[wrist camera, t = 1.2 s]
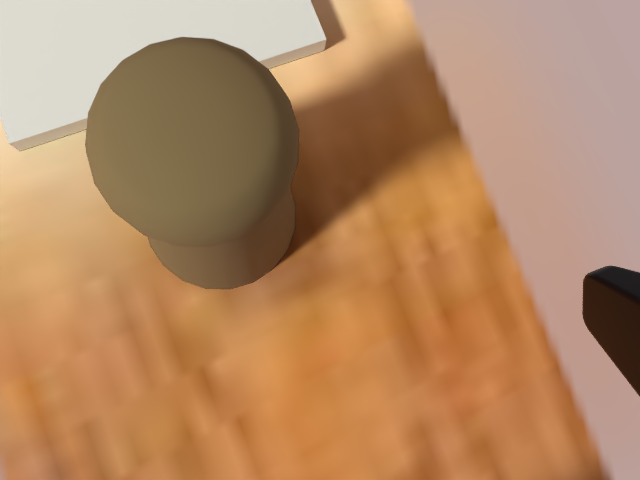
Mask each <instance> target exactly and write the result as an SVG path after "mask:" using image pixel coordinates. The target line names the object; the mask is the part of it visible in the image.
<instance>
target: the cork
mask: <svg viewBox="0 0 640 480" xmlns="http://www.w3.org/2000/svg"><path fill="white" fill-rule="evenodd" d="M85 146H86V153H87V157H88V161H89V164H90V168H91V172H92V176H93V180H94V184H95V185H96V187H97V188H98V190H99V191H100V193H101V194H102V196H103V197H104V199H105V200H106V202H107V203H108V205H109V206H110V208H111V209H112V211H113V212H115V213H116V214H117V215H118V216H120V217H121V218H122V219H124V220H125V221H126V222H128V223H129V224H130V225H131V226H133V227H134V228H135V229H137V230H138V231H139V232H141V233H142V234H143V235H145V236H147V237H148V240H149V243H150V246H151V248H152V249H153V251H154V252H155V254H156V255H157V257H158V258H159V260H160V261H161V262H162V264H163V265H164V266H165V267H166V268H167V269H168V270H170V271H171V272H172V273H174V274H175V275H176V276H177V277H179V278H180V279H181V280H183V281H185V282H188V283H191V284H194V285H197V286H200V287H202V288H205V289H233V288H236V287H239V286H243V285H246V284H250V283H253V282H255V281H256V280H258V279H259V278H260V277H262V276H263V275H265V274H266V273H268V272H269V271H271V270H272V269H273V268H274V267H275V266H276V264H277V263H278V262H279V261H280V259H281V258H282V257H283V255H284V254H285V253H286V252H287V250H288V247H289V245H290V242H291V239H292V236H293V233H294V231H295V217H296V205H295V202H294V198H293V195H292V192H291V188H290V185H291V182H292V179H293V176H294V174H295V171H296V168H297V164H298V152H299V128H298V125H297V122H296V119H295V115H294V112H293V109H292V106H291V102H290V100H289V98H288V97H287V95H286V93H285V92H284V91H283V89H282V88H281V86H280V85H279V83H278V82H277V81H276V79H275V78H274V76H273V75H272V74H271V72H270V71H269V69H268V68H266V67H265V66H264V65H263V64H261V63H260V62H259V61H257V60H256V59H255V58H253V57H252V56H251V55H249V54H248V53H247V52H245V51H244V50H242V49H240V48H237V47H234V46H232V45H229V44H226V43H223V42H221V41H218V40H215V39H209V38H193V37H178V38H174V39H170V40H165V41H161V42H157V43H153V44H149V45H148V46H146V47H144V48H142V49H141V50H139V51H137V52H136V53H134V54H132V55H130V56H129V57H127V58H125V59H123V60H122V61H121V62H120V63H119V64H118V65H117V67H116V68H115V69H114V70H113V71H112V72H111V73H110V74H109V75H108V76H107V78H106V79H105V80H104V81H103V82H102V83H101V84H100V87H99V89H98V91H97V94H96V96H95V98H94V100H93V103H92V105H91V107H90V110H89V112H88V119H87V131H86V143H85Z"/></svg>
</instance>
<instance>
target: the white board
mask: <svg viewBox="0 0 640 480" xmlns="http://www.w3.org/2000/svg"><path fill="white" fill-rule="evenodd" d="M178 37H193V38H209V39H215V40H218V41H221V42H223V43H226V44H229V45H232V46H234V47H237V48H240V49H242V50H244V51H245V52H247V53H248V54H249V55H251V56H252V57H253V58H255V59H256V60H257V61H259V62H260V63H261V64H263V65H264V66H265V67H266V68H268V69H270V68H273V67H276V66H279V65H282V64H285V63H288V62H291V61H294V60H297V59H300V58H303V57H306V56H309V55H312V54H315V53H318V52H321V51H324V49H325V44H326V40H327V39H326V37H325V34H324V32H323V29H322V27H321V24H320V22H319V20H318V17H317V15H316V12H315V10H314V7H313V5H312V3H311V0H0V118H1V121H2V124H3V127H4V130H5V133H6V136H7V139H8V141H9V144H10V145H12V146H13V147H15V148H16V149H17V150H19V151H22V150H25V149H28V148H31V147H34V146H37V145H40V144H43V143H46V142H49V141H52V140H55V139H58V138H61V137H64V136H67V135H70V134H73V133H76V132H79V131H82V130H85V129H87V119H88V112H89V110H90V107H91V105H92V103H93V100H94V98H95V96H96V94H97V91H98V89H99V87H100V84H101V83H102V82H103V81H104V80H105V79H106V78H107V76H108V75H109V74H110V73H111V72H112V71H113V70H114V69H115V68H116V67H117V65H118V64H119V63H120V62H121V61H122V60H123V59H125V58H127V57H129V56H130V55H132V54H134V53H136V52H137V51H139V50H141V49H142V48H144V47H146V46H148V45H149V44H153V43H157V42H161V41H165V40H170V39H174V38H178Z"/></svg>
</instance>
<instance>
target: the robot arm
mask: <svg viewBox="0 0 640 480" xmlns="http://www.w3.org/2000/svg"><path fill="white" fill-rule="evenodd" d="M583 319H584V322H585V324H586V326H587V328H588V330H589V331H590V332H591V334H592V335H593V336H594V338H595V339H596V340H597V341H598V343H599V344H600V345H601V347H602V348H603V349H604V351H605V352H606V353H607V355H608V356H609V357H610V358H611V360H612V361H613V362H614V364H615V365H616V366H617V368H618V369H619V370H620V371H621V373H622V374H623V375H624V377H625V378H626V379H627V381H628V382H629V383H630V384H631V386H632V387H633V388H634V390H635V391H636V392H637V394H638V395H639V396H640V273H639V272H635V271H631V270H628V269H624V268H620V267H616V266H606V267H603V268H600V269H598V270H595V271H593V272H590V273H588V274H587V275H586V276H585V278H584V280H583Z"/></svg>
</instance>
